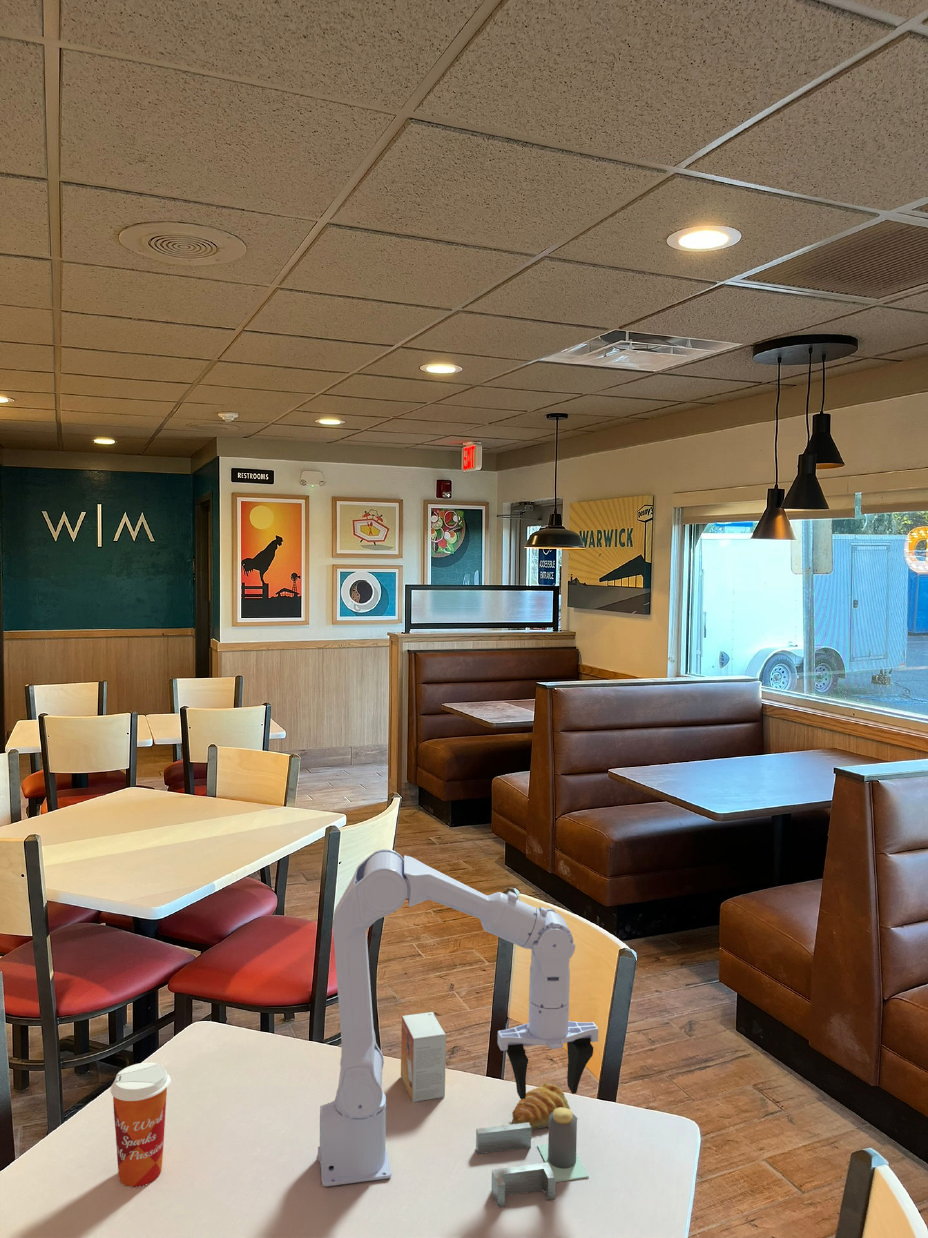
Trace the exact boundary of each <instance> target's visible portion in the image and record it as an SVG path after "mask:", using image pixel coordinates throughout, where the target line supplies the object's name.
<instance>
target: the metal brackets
mask: <svg viewBox="0 0 928 1238" xmlns="http://www.w3.org/2000/svg"><path fill="white" fill-rule="evenodd" d="M475 1132H476V1133H475V1135H476V1136H475V1150H476V1153H477V1155H480V1154H481V1155H482V1154H488V1153H496V1152H503V1151H511V1150H512V1151H513V1150H520V1149H526V1148H527V1149H528V1148H531V1147H532V1130H531V1126H530V1124H529V1122H528V1123H519V1124H513V1123H511V1124H504V1125H497V1126H496V1125H495V1126H489V1127H488V1126H487V1127H480V1128H476V1129H475ZM539 1191H543V1192H544V1195H545V1198H546V1199H547V1201H550V1200H555V1199H556V1182H555V1176H554V1174H553V1172H552V1169H551V1167H550V1165H549V1163H548V1162H546V1163H545V1162H541V1163H531V1164H525V1165H517V1166H510V1167H509V1166H508V1167H500V1168H495V1169H491V1194H492V1196H493V1199H494V1201H495V1205H496V1207H497V1208H502V1207H505V1205H506V1204H505V1203H506V1196H511V1195H517V1194H524V1193H526V1194H527V1193H531V1192H532V1193H533V1192H539Z"/></svg>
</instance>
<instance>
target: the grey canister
mask: <svg viewBox="0 0 928 1238" xmlns="http://www.w3.org/2000/svg"><path fill="white" fill-rule="evenodd" d="M577 1127H578V1118H577V1117H576V1115H575V1114H574V1113H573V1111H572V1110H571V1108H570V1109H568V1108H563V1107H560V1108H556V1109H555V1110H554V1111H553V1112H552V1113H551V1114H550V1115H549V1127H548V1139H547V1140H548V1143H547V1144H548V1161H549V1162H550V1164H552V1165H553V1166H555V1167H557V1168H562V1169H566V1168H570V1167H572V1166H574V1165H575V1163H576V1154H577V1135H578V1134H577V1132H578V1128H577Z"/></svg>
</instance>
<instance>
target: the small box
mask: <svg viewBox="0 0 928 1238" xmlns="http://www.w3.org/2000/svg"><path fill="white" fill-rule="evenodd" d="M400 1037H401V1038H400V1039H401V1040H400V1041H401V1045H400V1047H401V1048H400V1049H401V1050H400V1077H401V1079H402V1081H403V1084H404V1085H405V1088H406V1090H407V1093H408V1095H409V1098H410V1099H411V1102H412V1103H417V1102H421V1101H422V1102H423V1101H429V1100H435V1099H441V1098H445V1095H446V1063H447V1062H446V1060H447V1058H446V1057H447V1033H445V1031H444V1029H443V1028H442V1026H441V1025H440V1022H439V1021H438V1019H437V1017H436V1015H435V1013H434V1012H433V1011H430V1012H421V1013H414V1014H407V1015H406V1014H405V1015H402V1016H401V1036H400Z"/></svg>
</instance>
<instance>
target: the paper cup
mask: <svg viewBox="0 0 928 1238" xmlns="http://www.w3.org/2000/svg"><path fill="white" fill-rule="evenodd" d="M171 1080H172V1079H171V1076H170V1075H169V1073H168V1072H167V1071H166V1069H165V1067H164V1066H162V1065H161V1064H159V1063H156V1062H141V1063H135V1064H132V1065H129V1066H127V1067H124V1068H123V1069H122V1070H119V1071H118V1073H117V1074H116V1075H115V1079H114V1081H113V1083H112V1084H111V1086H110V1094H111V1095H112V1096H113V1097H112V1099H113V1100H112V1102H113V1117H114V1118H113V1120H114V1128H115V1142H116V1156H117V1159H116V1160H117V1171H118V1180H119V1182H120V1184H122V1185H123V1184H124V1185H123V1186H124V1187H127V1186H130V1187H129V1188H139V1186H140V1187H143V1185H144V1186H147V1185H149V1184H151V1183H153V1182H155V1181H156V1180H157V1179H158V1178H159V1176H160V1175H161V1173H162V1170H163V1169H162V1168H163V1155H164V1154H163V1153H164V1141H165V1126H166V1124H165V1122H166V1109H167V1108H166V1107H167V1095H168V1092H167V1089H168V1087H169V1085H170V1084H171ZM146 1184H147V1185H146ZM131 1186H132V1187H131ZM136 1186H137V1187H136Z"/></svg>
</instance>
